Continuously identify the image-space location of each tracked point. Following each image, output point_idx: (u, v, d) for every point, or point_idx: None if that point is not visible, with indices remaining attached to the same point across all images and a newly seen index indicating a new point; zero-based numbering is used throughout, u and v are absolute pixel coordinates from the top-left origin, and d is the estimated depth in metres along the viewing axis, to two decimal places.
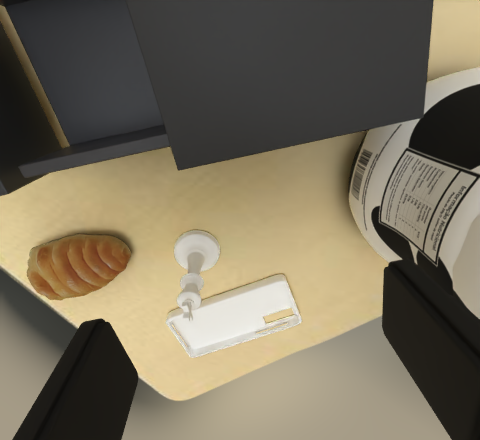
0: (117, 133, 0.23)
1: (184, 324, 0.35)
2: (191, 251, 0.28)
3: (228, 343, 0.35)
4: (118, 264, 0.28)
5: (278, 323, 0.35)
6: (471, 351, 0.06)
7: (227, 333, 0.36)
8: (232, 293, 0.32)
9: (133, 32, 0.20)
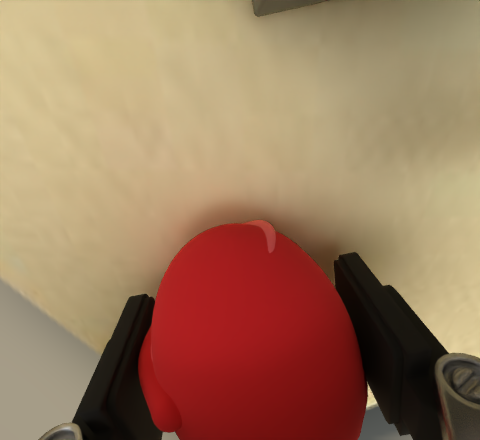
0: None
1: None
2: None
3: None
4: None
5: None
6: (387, 331, 0.07)
7: None
8: None
9: None
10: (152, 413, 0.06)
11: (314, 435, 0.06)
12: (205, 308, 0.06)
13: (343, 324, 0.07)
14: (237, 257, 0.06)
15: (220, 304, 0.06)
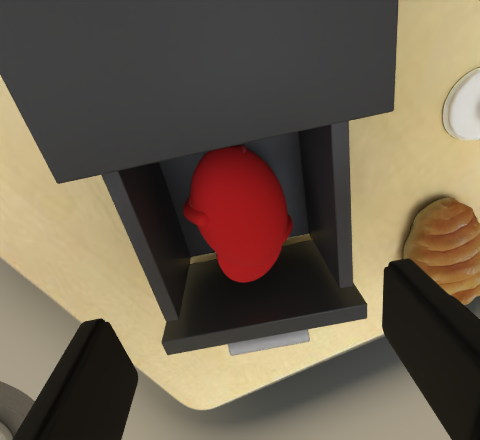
0: (302, 184, 0.20)
1: None
2: None
3: None
4: (464, 215, 0.21)
5: None
6: (471, 351, 0.06)
7: None
8: None
9: None
10: (195, 218, 0.15)
11: (262, 219, 0.15)
12: (217, 172, 0.15)
13: (275, 183, 0.15)
14: (229, 153, 0.15)
15: (223, 170, 0.15)
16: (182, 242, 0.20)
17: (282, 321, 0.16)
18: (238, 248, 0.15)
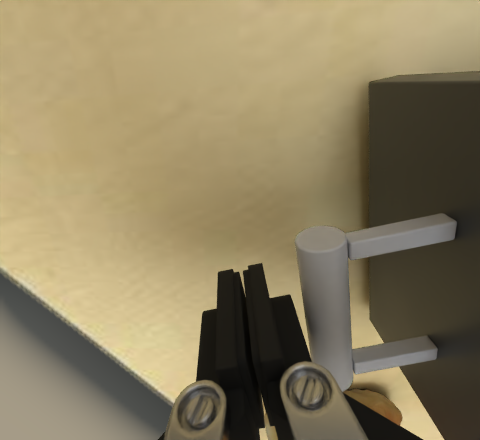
0: None
1: None
2: None
3: None
4: None
5: None
6: (255, 341, 0.07)
7: None
8: None
9: None
10: None
11: None
12: None
13: None
14: None
15: None
16: None
17: None
18: None
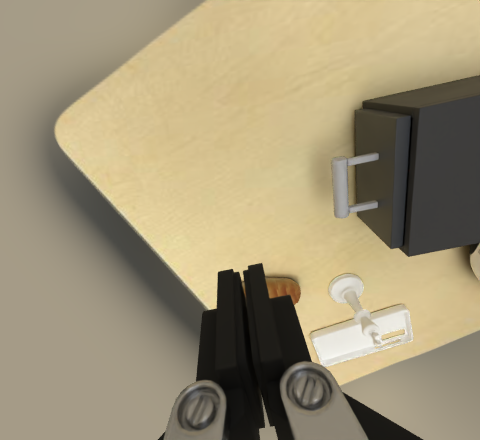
0: None
1: (320, 341, 0.45)
2: (348, 290, 0.38)
3: (352, 356, 0.46)
4: (296, 300, 0.38)
5: (392, 340, 0.45)
6: (255, 341, 0.07)
7: (351, 348, 0.46)
8: None
9: None
10: None
11: None
12: None
13: None
14: None
15: None
16: None
17: (404, 200, 0.25)
18: None
